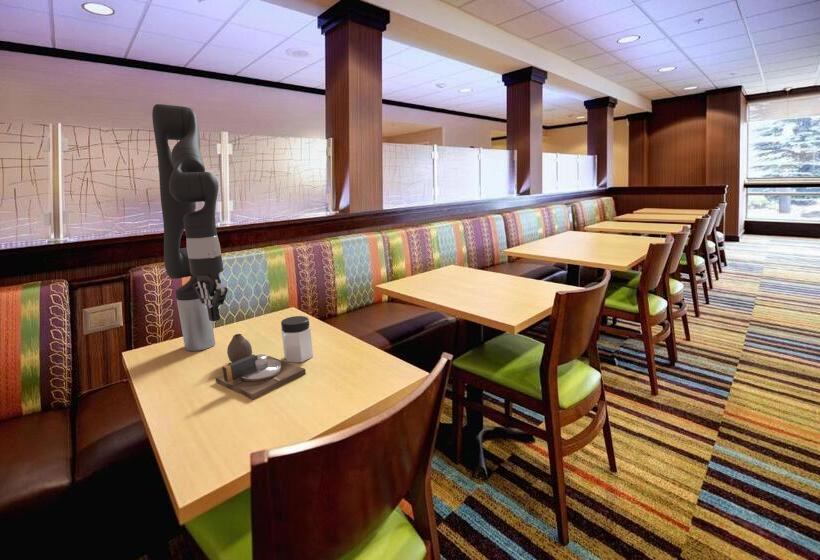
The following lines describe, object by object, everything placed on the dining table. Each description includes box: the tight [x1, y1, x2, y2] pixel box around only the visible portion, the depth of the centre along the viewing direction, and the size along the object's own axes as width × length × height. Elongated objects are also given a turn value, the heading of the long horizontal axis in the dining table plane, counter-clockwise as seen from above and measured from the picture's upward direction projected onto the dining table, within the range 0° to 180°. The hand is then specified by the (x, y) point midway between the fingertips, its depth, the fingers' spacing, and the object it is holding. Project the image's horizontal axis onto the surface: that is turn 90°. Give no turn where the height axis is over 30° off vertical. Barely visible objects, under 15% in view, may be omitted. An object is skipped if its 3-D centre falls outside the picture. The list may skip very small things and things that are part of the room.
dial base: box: [214, 355, 307, 400], centre depth 118 cm, size 17×17×2 cm
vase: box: [226, 333, 253, 363], centre depth 128 cm, size 7×7×9 cm
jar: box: [280, 315, 314, 363], centre depth 130 cm, size 9×8×12 cm
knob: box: [221, 353, 281, 383], centre depth 115 cm, size 16×11×6 cm
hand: (214, 320), depth 111 cm, fingers closed
